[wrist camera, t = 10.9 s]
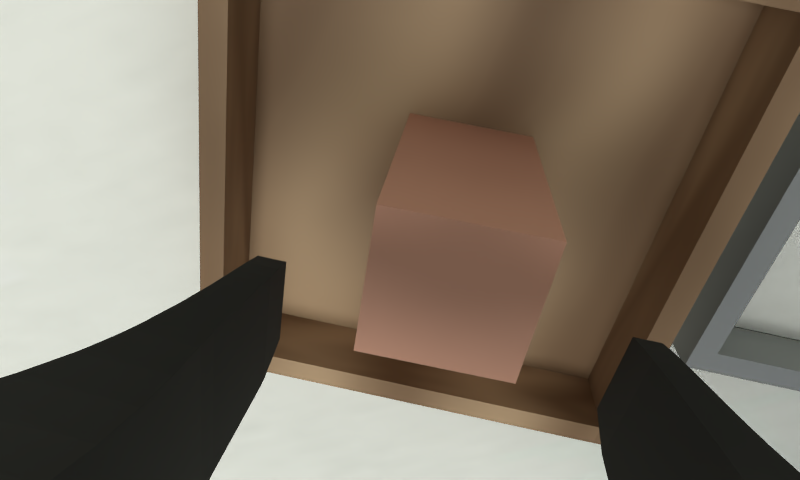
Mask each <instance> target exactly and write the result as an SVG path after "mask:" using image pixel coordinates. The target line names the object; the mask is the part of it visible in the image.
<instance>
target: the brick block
mask: <svg viewBox="0 0 800 480" xmlns="http://www.w3.org/2000/svg"><path fill="white" fill-rule="evenodd" d="M566 244H567V241H566V238H565V234H564V231H563V228H562V225H561V222H560V219H559V216H558V213H557V210H556V206H555V203H554V200H553V197H552V194H551V191H550V188H549V185H548V182H547V179H546V175H545V172H544V169H543V166H542V163H541V160H540V157H539V154H538V151H537V148H536V144H535V141H534V138H533V137H530V136H525V135H520V134H515V133H510V132H505V131H499V130H494V129H489V128H484V127H479V126H474V125H469V124H463V123H458V122H453V121H448V120H443V119H438V118H433V117H427V116H422V115H417V114H412V113H410V114H409V117H408V120H407V123H406V125H405V128H404V131H403V133H402V136H401V139H400V142H399V144H398V147H397V150H396V152H395V155H394V158H393V161H392V163H391V166H390V169H389V171H388V174H387V177H386V180H385V182H384V185H383V188H382V190H381V193H380V196H379V198H378V201H377V204H376V210H375V216H374V223H373V229H372V235H371V242H370V248H369V255H368V261H367V268H366V274H365V280H364V287H363V293H362V300H361V306H360V313H359V319H358V325H357V332H356V338H355V345H354V351H358V352H363V353H368V354H373V355H378V356H382V357H387V358H392V359H397V360H402V361H407V362H412V363H416V364H421V365H426V366H431V367H436V368H441V369H446V370H451V371H455V372H460V373H465V374H470V375H475V376H480V377H485V378H490V379H494V380H499V381H504V382H509V383H514V384H516V381H517V378H518V376H519V373H520V370H521V367H522V365H523V362H524V359H525V356H526V354H527V351H528V348H529V345H530V343H531V340H532V337H533V334H534V332H535V329H536V326H537V323H538V321H539V318H540V315H541V312H542V310H543V307H544V304H545V301H546V299H547V296H548V293H549V290H550V288H551V285H552V282H553V279H554V277H555V274H556V271H557V268H558V266H559V263H560V260H561V257H562V255H563V252H564V249H565V246H566Z"/></svg>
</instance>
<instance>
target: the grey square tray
mask: <svg viewBox="0 0 800 480" xmlns="http://www.w3.org/2000/svg"><path fill="white" fill-rule="evenodd" d="M799 220H800V113H799V115H798V116H797V118H796V120H795V122H794V124H793V125H792V127H791V129H790V131H789V133H788V135H787V136H786V138H785V140H784V142H783V144H782V145H781V147H780V149H779V151H778V153H777V154H776V156H775V158H774V160H773V162H772V164H771V165H770V167H769V169H768V171H767V173H766V174H765V176H764V178H763V180H762V182H761V183H760V185H759V187H758V189H757V191H756V193H755V194H754V196H753V198H752V200H751V202H750V203H749V205H748V207H747V209H746V211H745V212H744V214H743V216H742V218H741V220H740V221H739V223H738V225H737V227H736V229H735V231H734V232H733V234H732V236H731V238H730V240H729V241H728V243H727V245H726V247H725V249H724V250H723V252H722V254H721V256H720V258H719V260H718V261H717V263H716V265H715V267H714V269H713V270H712V272H711V274H710V276H709V278H708V279H707V281H706V283H705V285H704V287H703V289H702V290H701V292H700V294H699V296H698V298H697V299H696V301H695V303H694V305H693V307H692V308H691V310H690V312H689V314H688V316H687V317H686V319H685V321H684V323H683V325H682V327H681V328H680V330H679V332H678V334H677V336H676V337H675V339H674V341H673V345H674V347H675V349H676V351H677V353H678V355H679V357H680V359H681V360H682V361H683V362H684V363H685V364H686V365H687V366H688V367H690V368H694V369H699V370H704V371H708V372H713V373H718V374H722V375H727V376H732V377H736V378H741V379H746V380H750V381H755V382H759V383H764V384H769V385H773V386H778V387H783V388H787V389H792V390H797V391H800V341H798V340H793V339H788V338H783V337H779V336H774V335H769V334H765V333H760V332H755V331H751V330H746V329H741V328H737V327H734V326H735V324H736V323H737V321H738V319H739V318H740V316H741V315H742V313H743V311H744V310H745V308H746V306H747V305H748V303H749V302H750V300H751V298H752V297H753V295H754V293H755V292H756V290H757V288H758V287H759V285H760V284H761V282H762V280H763V279H764V277H765V275H766V274H767V272H768V271H769V269H770V267H771V266H772V264H773V262H774V261H775V259H776V257H777V256H778V254H779V253H780V251H781V249H782V248H783V246H784V244H785V243H786V241H787V240H788V238H789V236H790V235H791V233H792V231H793V230H794V228H795V227H796V225H797V223H798V222H799Z"/></svg>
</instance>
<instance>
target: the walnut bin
mask: <svg viewBox="0 0 800 480" xmlns="http://www.w3.org/2000/svg"><path fill="white" fill-rule="evenodd" d="M198 69H199V188H200V291H201V290H202V289H204V288H206V287H208V286H209V285H211V284H212V283H214V282H216V281H217V280H219V279H220V278H222V277H224V276H225V275H227V274H228V273H230V272H232V271H233V270H235V269H236V268H238V267H240V266H241V265H243V264H245V263H246V262H248V261H249V260H251V259H253V258H254V257H256V256H262V257H267V258H271V259H276V260H280V261H285V262H286V272H285V284H284V296H283V307H282V319H281V331H280V340H279V342H278V345H277V347H276V350H275V353H274V355H273V358H272V360H271V363H270V365H269V368H268V370H267V372H271V373H275V374H280V375H284V376H289V377H294V378H298V379H303V380H307V381H312V382H317V383H321V384H326V385H330V386H335V387H339V388H344V389H349V390H353V391H358V392H362V393H367V394H372V395H376V396H381V397H385V398H390V399H395V400H399V401H404V402H408V403H413V404H417V405H422V406H427V407H431V408H436V409H440V410H445V411H450V412H454V413H459V414H463V415H468V416H473V417H477V418H482V419H486V420H491V421H495V422H500V423H505V424H509V425H514V426H518V427H523V428H528V429H532V430H537V431H541V432H546V433H551V434H555V435H560V436H564V437H569V438H573V439H578V440H583V441H587V442H592V443H596V444H601V441H600V434H599V423H598V413H597V408H598V406H599V404H600V402H601V400H602V398H603V396H604V394H605V392H606V390H607V388H608V386H609V384H610V382H611V380H612V378H613V376H614V374H615V372H616V370H617V368H618V366H619V364H620V362H621V360H622V358H623V356H624V354H625V352H626V350H627V348H628V346H629V344H630V342H631V340H632V338H633V337H636V338H641V339H645V340H650V341H654V342H659V343H663V344H664V345H665V346H667V347H668V348H670V346H671V345H672V343H673V341H674V339H675V337H676V336H677V334H678V332H679V330H680V328H681V327H682V325H683V323H684V321H685V319H686V317H687V316H688V314H689V312H690V310H691V308H692V307H693V305H694V303H695V301H696V299H697V298H698V296H699V294H700V292H701V290H702V289H703V287H704V285H705V283H706V281H707V279H708V278H709V276H710V274H711V272H712V270H713V269H714V267H715V265H716V263H717V261H718V260H719V258H720V256H721V254H722V252H723V250H724V249H725V247H726V245H727V243H728V241H729V240H730V238H731V236H732V234H733V232H734V231H735V229H736V227H737V225H738V223H739V221H740V220H741V218H742V216H743V214H744V212H745V211H746V209H747V207H748V205H749V203H750V202H751V200H752V198H753V196H754V194H755V193H756V191H757V189H758V187H759V185H760V183H761V182H762V180H763V178H764V176H765V174H766V173H767V171H768V169H769V167H770V165H771V164H772V162H773V160H774V158H775V156H776V154H777V153H778V151H779V149H780V147H781V145H782V144H783V142H784V140H785V138H786V136H787V135H788V133H789V131H790V129H791V127H792V125H793V124H794V122H795V120H796V118H797V116H798V115H799V113H800V0H198ZM410 113H412V114H417V115H422V116H427V117H433V118H438V119H443V120H448V121H453V122H458V123H463V124H469V125H474V126H479V127H484V128H489V129H494V130H499V131H505V132H510V133H515V134H520V135H525V136H530V137H533V138H534V141H535V144H536V148H537V151H538V154H539V157H540V160H541V163H542V166H543V169H544V172H545V175H546V179H547V182H548V185H549V188H550V191H551V194H552V197H553V200H554V203H555V206H556V210H557V213H558V216H559V219H560V222H561V225H562V228H563V231H564V234H565V238H566V241H567V244H566V246H565V249H564V252H563V255H562V257H561V260H560V263H559V266H558V268H557V271H556V274H555V277H554V279H553V282H552V285H551V288H550V290H549V293H548V296H547V299H546V301H545V304H544V307H543V310H542V312H541V315H540V318H539V321H538V323H537V326H536V329H535V332H534V334H533V337H532V340H531V343H530V345H529V348H528V351H527V354H526V356H525V359H524V362H523V365H522V367H521V370H520V373H519V376H518V378H517V381H516V384H514V383H509V382H504V381H499V380H494V379H490V378H485V377H480V376H475V375H470V374H465V373H460V372H455V371H451V370H446V369H441V368H436V367H431V366H426V365H421V364H416V363H412V362H407V361H402V360H397V359H392V358H387V357H382V356H378V355H373V354H368V353H363V352H358V351H354V345H355V338H356V332H357V325H358V319H359V313H360V306H361V300H362V293H363V287H364V280H365V274H366V268H367V261H368V255H369V248H370V242H371V235H372V229H373V223H374V216H375V210H376V204H377V201H378V198H379V196H380V193H381V190H382V188H383V185H384V182H385V180H386V177H387V174H388V171H389V169H390V166H391V163H392V161H393V158H394V155H395V152H396V150H397V147H398V144H399V142H400V139H401V136H402V133H403V131H404V128H405V125H406V123H407V120H408V117H409V114H410Z"/></svg>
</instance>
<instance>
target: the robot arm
mask: <svg viewBox="0 0 800 480" xmlns="http://www.w3.org/2000/svg"><path fill="white" fill-rule="evenodd" d="M285 272H286V262H285V261H280V260H276V259H271V258H267V257H262V256H256V257H254V258H253V259H251V260H249V261H248V262H246V263H245V264H243V265H241V266H240V267H238V268H236V269H235V270H233V271H232V272H230V273H228V274H227V275H225V276H224V277H222V278H220V279H219V280H217V281H216V282H214V283H212V284H211V285H209V286H208V287H206V288H204V289H202V290H201V291H199V292H197V293H196V294H194V295H192V296H191V297H189V298H187V299H186V300H184V301H182V302H180V303H179V304H177V305H175V306H173V307H171V308H169V309H167V310H165V311H163V312H162V313H160V314H158V315H156V316H154V317H152V318H150V319H148V320H147V321H145V322H143V323H141V324H139V325H137V326H135V327H133V328H130V329H128V330H126V331H124V332H122V333H120V334H117V335H115V336H113V337H111V338H108V339H106V340H104V341H101V342H99V343H96V344H94V345H92V346H89V347H87V348H85V349H82V350H80V351H77V352H74V353H72V354H69V355H66V356H63V357H60V358H58V359H55V360H52V361H49V362H46V363H43V364H41V365H38V366H35V367H32V368H29V369H27V370H24V371H21V372H18V373H15V374H12V375H9V376H5V377H2V378H0V480H209V479H210V477H211V475H212V473H213V471H214V470H215V468H216V466H217V464H218V462H219V461H220V459H221V457H222V455H223V453H224V452H225V450H226V448H227V446H228V444H229V442H230V441H231V439H232V437H233V435H234V433H235V432H236V430H237V428H238V426H239V424H240V423H241V421H242V419H243V417H244V415H245V413H246V412H247V410H248V408H249V406H250V404H251V402H252V401H253V399H254V397H255V395H256V393H257V391H258V390H259V388H260V386H261V384H262V382H263V380H264V378H265V375H266V373H267V370H268V368H269V365H270V363H271V360H272V358H273V355H274V353H275V350H276V347H277V345H278V342H279V340H280V331H281V319H282V307H283V296H284V284H285ZM597 413H598V423H599V434H600V441H601V449H602V456H603V460H604V464H605V468H606V472H607V476H608V480H800V472H798V471H797V470H796V469H795V468H794V467H793V466H792V465H791V464H789V463H788V462H787V461H786V460H785V459H784V458H783V457H782V456H781V455H779V454H778V453H777V452H776V451H775V450H774V449H773V448H772V447H771V446H769V445H768V444H767V443H766V442H765V441H764V440H763V439H762V438H761V437H760V436H759V435H758V434H757V433H756V432H755V431H753V430H752V429H751V428H750V427H749V426H748V425H747V424H746V423H745V422H744V421H743V420H742V419H741V418H740V417H739V416H738V415H737V414H736V413H735V412H734V411H733V410H732V409H731V408H730V407H729V406H728V405H727V404H726V403H725V402H724V401H723V400H722V399H721V398H720V397H719V396H718V395H717V394H716V393H715V392H714V391H713V390H712V389H711V388H709V387H708V386H707V385H706V384H705V383H704V382H703V381H702V380H701V379H700V378H699V377H698V376H697V375H696V374H695V373H694V372H693V371H692V370H691V369H690V368H689V367H688V366H687V365H686V364H685V363H684V362H683V361H682V360H681V359H680V358H679V357H678V356H677V355H676V354H675V353H673V352H672V351H671V350H670V349H669V348H668V347H667V346H665V345H664V344H663V343H659V342H654V341H650V340H645V339H641V338H636V337H633V338H632V340H631V342H630V344H629V346H628V348H627V350H626V352H625V354H624V356H623V358H622V360H621V362H620V364H619V366H618V368H617V370H616V372H615V374H614V376H613V378H612V380H611V382H610V384H609V386H608V388H607V390H606V392H605V394H604V396H603V398H602V400H601V402H600V404H599V406H598V408H597Z"/></svg>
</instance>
